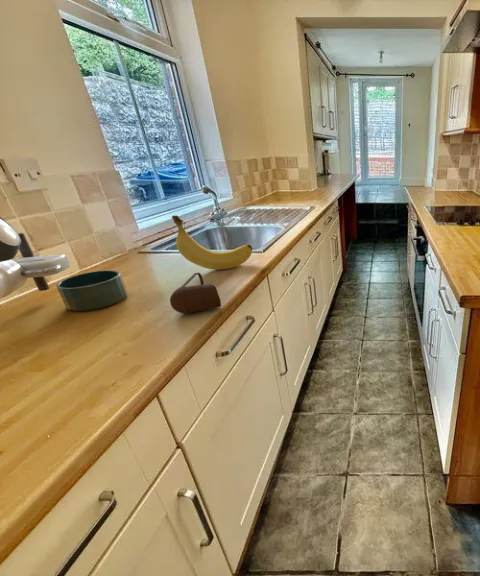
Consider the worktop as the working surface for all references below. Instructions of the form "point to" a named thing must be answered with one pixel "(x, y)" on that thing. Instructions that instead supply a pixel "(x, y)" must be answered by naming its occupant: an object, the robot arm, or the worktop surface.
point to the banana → (208, 251)
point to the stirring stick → (27, 252)
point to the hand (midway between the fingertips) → (32, 258)
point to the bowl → (92, 290)
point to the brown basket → (195, 297)
